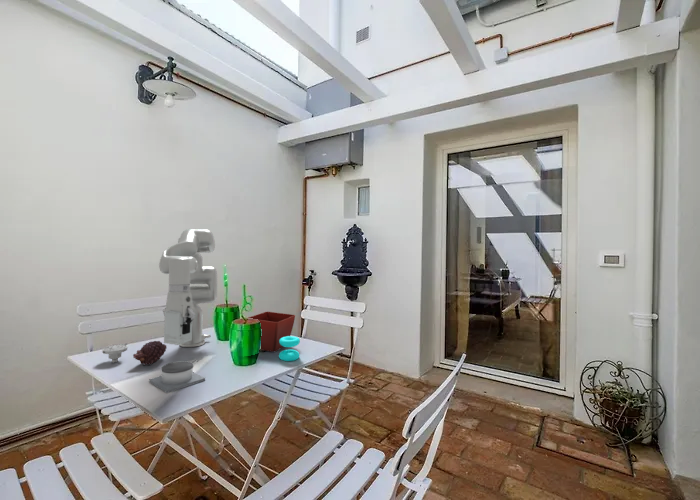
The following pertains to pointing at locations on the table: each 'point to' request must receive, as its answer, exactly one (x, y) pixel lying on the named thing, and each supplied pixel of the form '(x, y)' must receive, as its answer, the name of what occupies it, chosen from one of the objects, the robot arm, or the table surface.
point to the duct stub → (176, 376)
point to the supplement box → (175, 328)
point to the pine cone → (150, 352)
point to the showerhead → (114, 351)
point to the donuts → (289, 354)
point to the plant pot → (274, 329)
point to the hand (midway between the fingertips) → (178, 331)
